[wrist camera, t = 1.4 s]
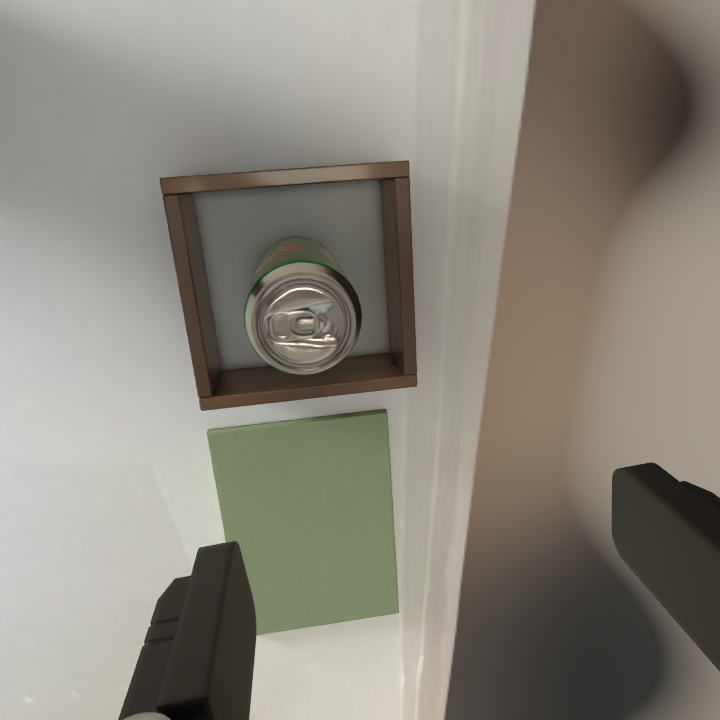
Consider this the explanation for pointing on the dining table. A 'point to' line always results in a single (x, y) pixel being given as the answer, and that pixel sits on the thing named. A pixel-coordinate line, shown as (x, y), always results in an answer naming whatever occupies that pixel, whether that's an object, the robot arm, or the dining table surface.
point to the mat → (310, 517)
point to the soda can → (301, 309)
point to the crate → (269, 381)
